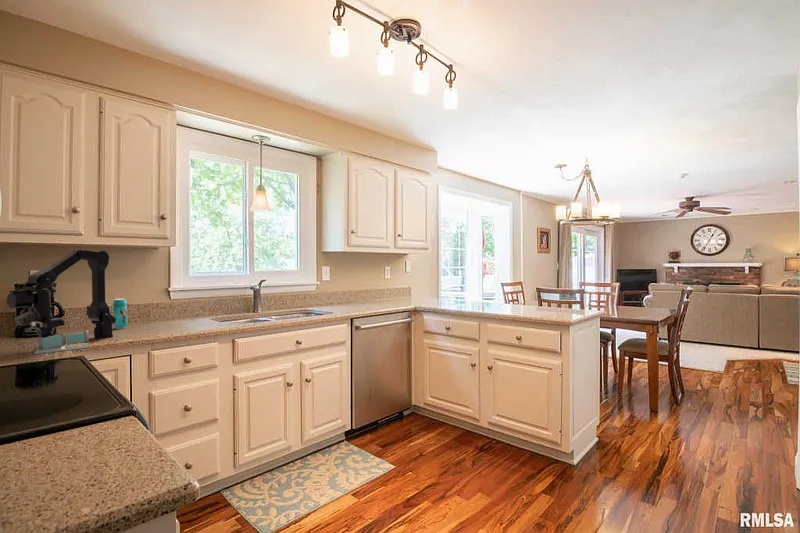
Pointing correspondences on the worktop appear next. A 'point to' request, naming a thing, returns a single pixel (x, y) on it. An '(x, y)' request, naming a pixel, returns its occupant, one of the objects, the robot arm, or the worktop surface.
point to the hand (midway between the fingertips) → (43, 342)
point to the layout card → (59, 349)
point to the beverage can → (120, 313)
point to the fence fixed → (77, 338)
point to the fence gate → (51, 341)
